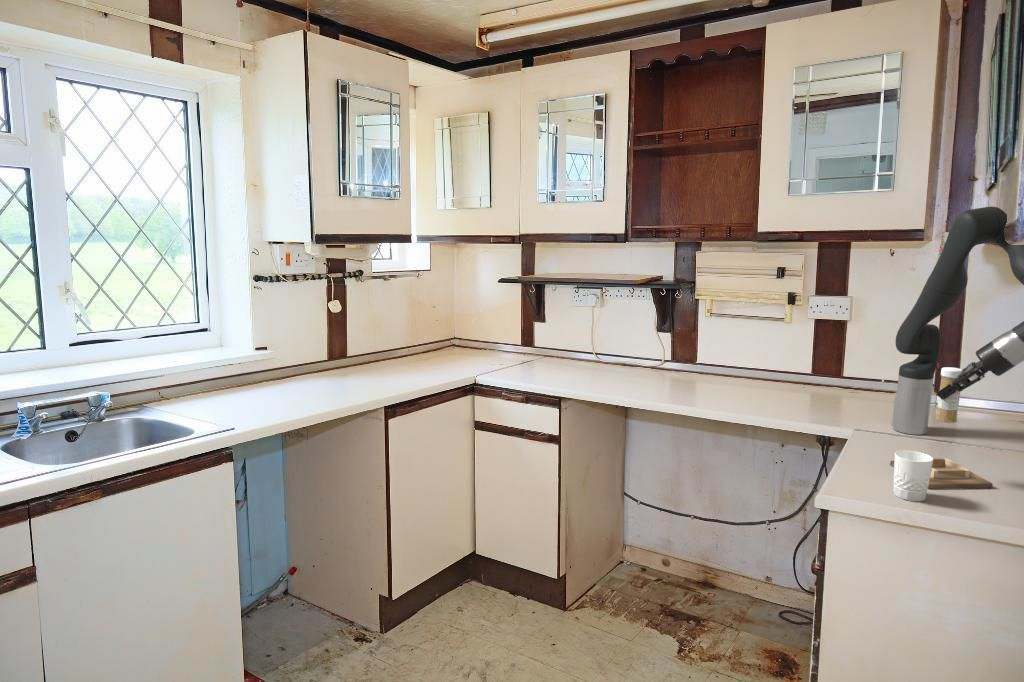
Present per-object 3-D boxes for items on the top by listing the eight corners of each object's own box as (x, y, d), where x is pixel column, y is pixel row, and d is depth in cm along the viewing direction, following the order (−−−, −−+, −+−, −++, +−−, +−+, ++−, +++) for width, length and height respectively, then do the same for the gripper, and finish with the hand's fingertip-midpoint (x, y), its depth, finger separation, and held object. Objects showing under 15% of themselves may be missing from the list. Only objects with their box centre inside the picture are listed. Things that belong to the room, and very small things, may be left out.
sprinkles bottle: (938, 417, 175) (943, 365, 173) (958, 420, 172) (965, 368, 170) (933, 420, 172) (939, 368, 170) (954, 424, 169) (961, 371, 167)
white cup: (882, 491, 166) (886, 451, 164) (910, 488, 168) (914, 449, 166) (908, 504, 158) (912, 463, 156) (936, 501, 160) (941, 460, 158)
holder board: (890, 465, 183) (891, 453, 182) (949, 464, 183) (950, 453, 183) (927, 488, 167) (929, 476, 166) (992, 488, 167) (993, 475, 167)
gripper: (992, 336, 170) (930, 377, 179) (992, 345, 159) (926, 388, 167) (1016, 359, 168) (952, 400, 177) (1018, 370, 157) (949, 413, 165)
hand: (940, 394), depth 172 cm, fingers closed on sprinkles bottle, 4 cm apart
